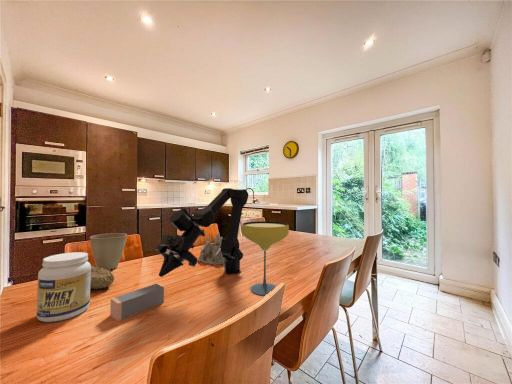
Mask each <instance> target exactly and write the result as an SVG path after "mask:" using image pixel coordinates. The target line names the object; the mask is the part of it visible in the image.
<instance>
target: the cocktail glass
mask: <svg viewBox="0 0 512 384" xmlns="http://www.w3.org/2000/svg"><path fill="white" fill-rule="evenodd" d="M289 233H290V226H289V224H288V223H286V222H278V221H265V220H264V221H263V220H262V221H247V222H244V223H242V225H241V234H242V235H243V236H244V237H245V238H246V239H247V240H249V241H251V242H252V243H255V244H257V246H259V248H260V249H261V250H262V251H263V282H262V283H261V282H259V283H256V284H253V285H251V286H250V291H251V292H252V293H253V294H254V295H258V296H262V297H264V296H265V295H266V294H268V293H269V292H270V291H272V290H273V289H274V288H275V287H276V286H277V285H275V284H272V283H267V273H266V271H267V270H266V269H267V268H266V265H267V263H266V262H267V261H266V259H267V256H266V255H267V253H266V252H267V251H268V250H269V249H270V247H271V246H272V245H274V244H276V243H279V242H281V241H283V240H284V239H285V238H286V237H288V235H289Z"/></svg>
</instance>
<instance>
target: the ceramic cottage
mask: <svg viewBox="0 0 512 384" xmlns="http://www.w3.org/2000/svg"><path fill="white" fill-rule="evenodd" d="M222 239H224V238H223V236H221V235H220V232H217V234H216V236H213V243H211V237H210V236H206V239H205V242H204V244H203V245H202V246H201V248H200V249H199V250H200V253H199V254H200V255H199V256H198V262H200V261H201V262H200V263H203V262H205V263H204V264H207V263H209V265H211V264H213V266H216V265H224V262H225V258H223V256H222V253H221V248H220V246H221V240H222Z"/></svg>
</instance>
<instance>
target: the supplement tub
mask: <svg viewBox="0 0 512 384" xmlns="http://www.w3.org/2000/svg"><path fill="white" fill-rule="evenodd" d="M88 260H89V254H88V253H87V252H83V251H81V252H80V251H77V252H76V251H75V252H74V251H73V252H65V253H59V254H53V255H49V256H47V257H44V258H43V259H42V264H41V265H42V268H41V269H40V270H39V271H38V274H37V288H36V289H37V291H36V295H37V296H36V318H37V319H38V321H40V322H44V323H52V322H61V321H65V320H68V319H72V318H74V317H77V316H78V315H81V314H82V313H84V312H85V311H87V309H88V308H89V307H90V303H91V289H90V280H91V266H92V264H91V263H90V262H89V261H88Z"/></svg>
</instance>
